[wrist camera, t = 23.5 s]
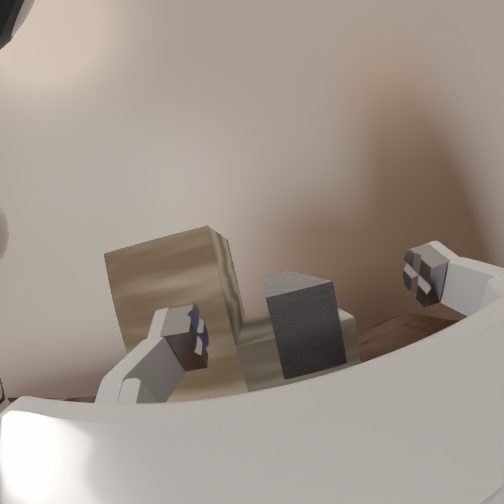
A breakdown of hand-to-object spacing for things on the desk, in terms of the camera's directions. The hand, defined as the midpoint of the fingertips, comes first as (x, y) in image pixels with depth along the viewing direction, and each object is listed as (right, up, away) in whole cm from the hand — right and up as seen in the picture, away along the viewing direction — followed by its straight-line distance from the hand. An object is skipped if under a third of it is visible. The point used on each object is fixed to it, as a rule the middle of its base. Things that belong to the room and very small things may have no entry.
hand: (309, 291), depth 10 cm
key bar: (+1, -5, +11) cm, 12 cm away
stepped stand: (0, -20, +15) cm, 25 cm away
